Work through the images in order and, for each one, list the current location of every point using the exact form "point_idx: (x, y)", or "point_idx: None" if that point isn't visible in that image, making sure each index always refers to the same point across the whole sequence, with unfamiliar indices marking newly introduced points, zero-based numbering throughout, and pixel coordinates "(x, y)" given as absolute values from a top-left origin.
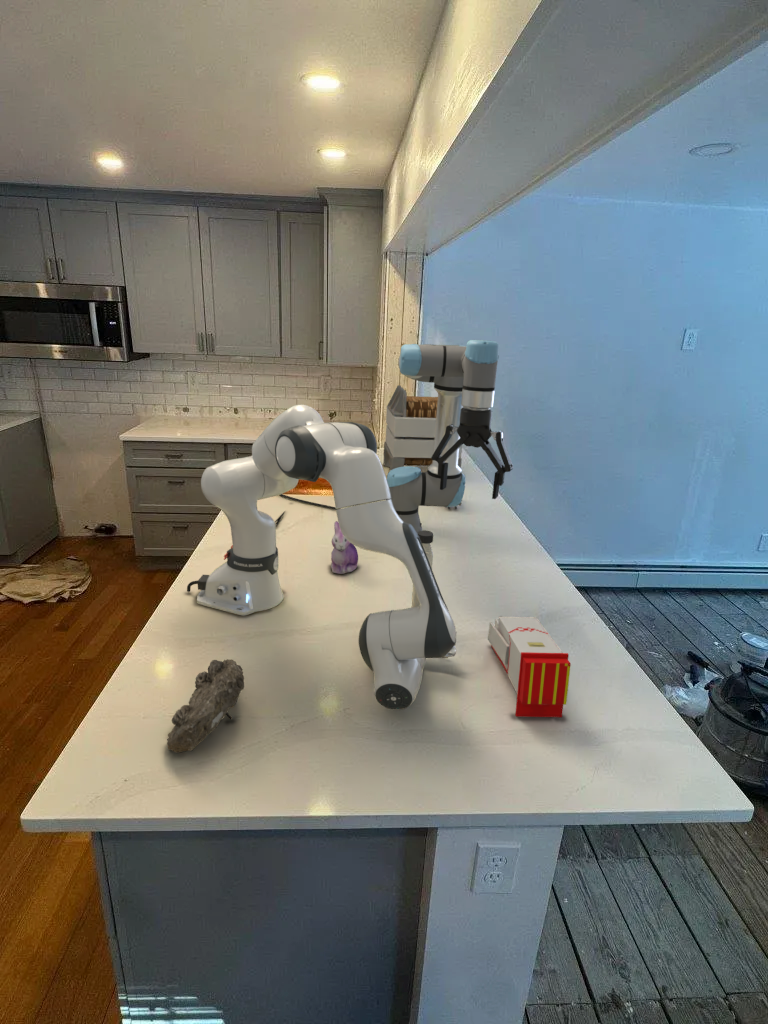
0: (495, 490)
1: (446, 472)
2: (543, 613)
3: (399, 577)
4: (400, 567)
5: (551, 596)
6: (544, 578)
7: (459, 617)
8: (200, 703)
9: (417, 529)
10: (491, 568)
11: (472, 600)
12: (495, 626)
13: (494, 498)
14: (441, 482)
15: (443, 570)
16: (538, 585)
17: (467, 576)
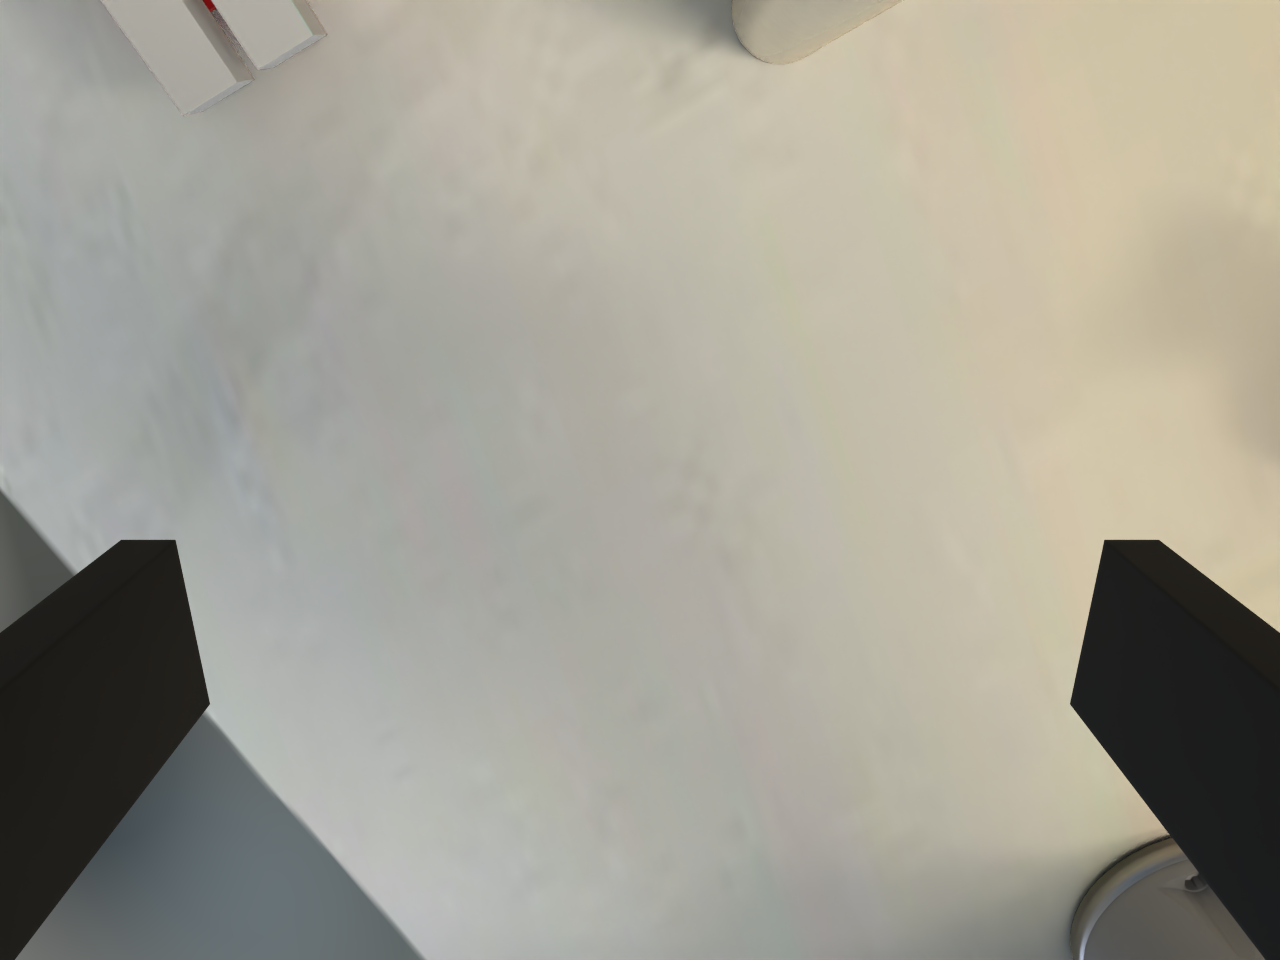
0: (26, 620)
1: (1268, 881)
2: (230, 446)
3: (1043, 440)
4: (1072, 552)
5: (261, 631)
6: (355, 786)
7: (590, 171)
8: None
9: (1107, 944)
10: (618, 765)
11: (591, 393)
12: (312, 16)
13: (126, 545)
14: (1221, 607)
15: (839, 631)
16: (354, 706)
17: (701, 629)
